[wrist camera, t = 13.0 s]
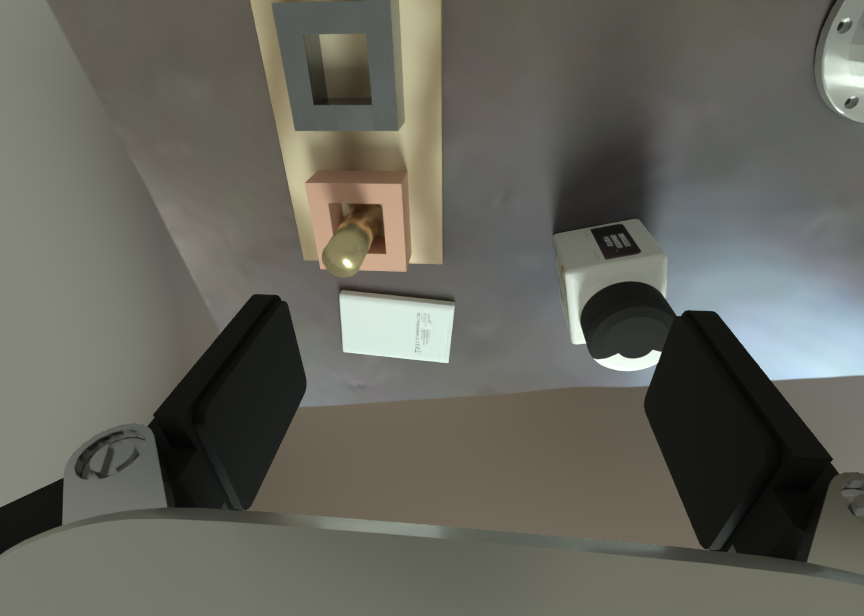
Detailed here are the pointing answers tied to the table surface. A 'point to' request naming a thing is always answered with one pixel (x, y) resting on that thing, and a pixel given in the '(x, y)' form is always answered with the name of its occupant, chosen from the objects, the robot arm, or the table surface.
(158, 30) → the table surface
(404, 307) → the external hard drive
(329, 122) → the mount collar
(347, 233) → the brass pin
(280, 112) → the oak board
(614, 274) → the container
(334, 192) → the socket collar
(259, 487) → the robot arm
